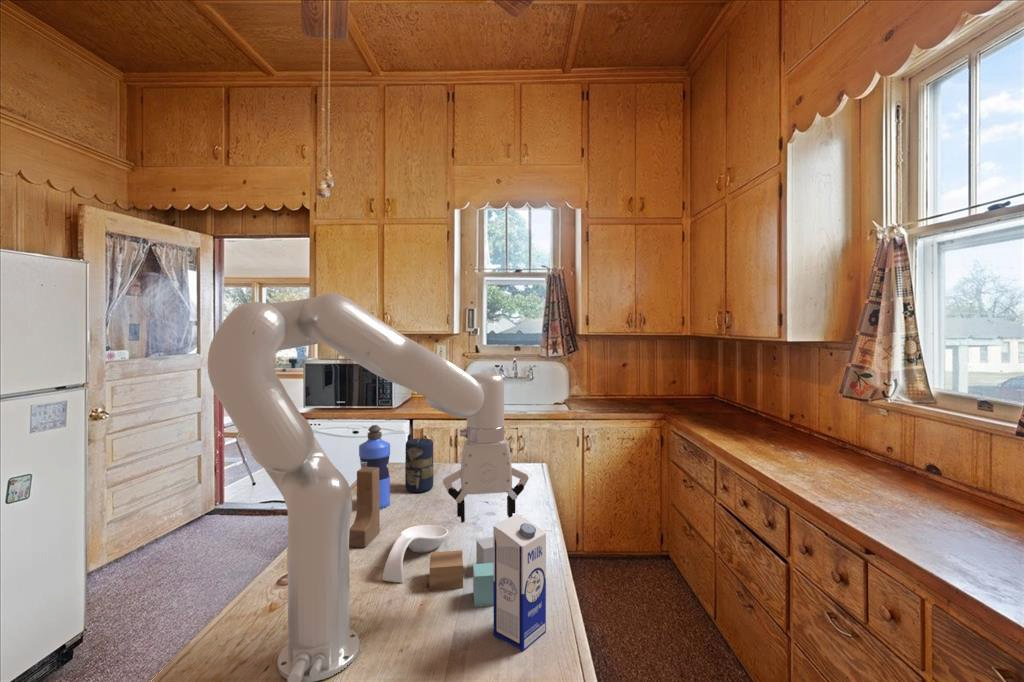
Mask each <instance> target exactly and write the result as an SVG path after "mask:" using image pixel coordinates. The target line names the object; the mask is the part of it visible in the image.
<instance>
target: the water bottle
mask: <svg viewBox="0 0 1024 682" xmlns="http://www.w3.org/2000/svg"><path fill="white" fill-rule="evenodd" d="M381 430H382V428H381V427H380V426H379V425H378V424H373V425H371V426H369V428H368V429H367V431H368V432H367V440H366V441H364V442H362V443H360V444H359V445H358V456H359V461H360V462H359V463H360V469H361V468H363V467H379V509H381V510H384V509H386V508H388V507H389V506H390V505H391V482H390V481H391V479H390V478H391V477H390V471H389V465H390V464H389V463H390V455H391V443H390V442H388V441H387V440H383V438H382V436H383V435H382V431H381ZM387 506H388V507H387ZM383 508H384V509H383Z"/></svg>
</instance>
